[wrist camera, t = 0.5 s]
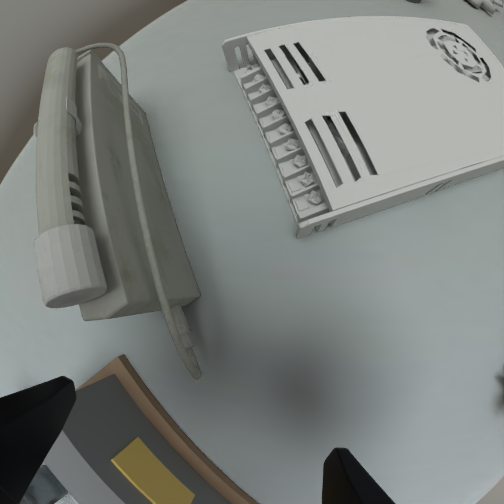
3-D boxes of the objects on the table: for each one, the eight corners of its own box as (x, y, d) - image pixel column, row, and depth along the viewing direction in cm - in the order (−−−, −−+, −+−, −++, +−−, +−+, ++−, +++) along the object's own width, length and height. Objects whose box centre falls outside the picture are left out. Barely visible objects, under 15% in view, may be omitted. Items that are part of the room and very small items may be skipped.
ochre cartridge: (74, 493, 21) (23, 531, 8) (60, 495, 21) (13, 528, 8) (49, 461, 22) (-9, 493, 9) (37, 467, 22) (-15, 494, 9)
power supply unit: (230, 73, 25) (220, 41, 20) (455, 45, 22) (466, 24, 17) (297, 241, 22) (300, 228, 17) (528, 159, 19) (550, 145, 14)
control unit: (259, 504, 19) (245, 574, 9) (195, 523, 19) (166, 579, 9) (123, 354, 22) (45, 381, 12) (75, 392, 22) (9, 418, 12)
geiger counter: (30, 57, 11) (71, 448, 8) (97, 6, 11) (195, 441, 7) (112, 129, 25) (181, 371, 21) (164, 100, 25) (252, 349, 21)
